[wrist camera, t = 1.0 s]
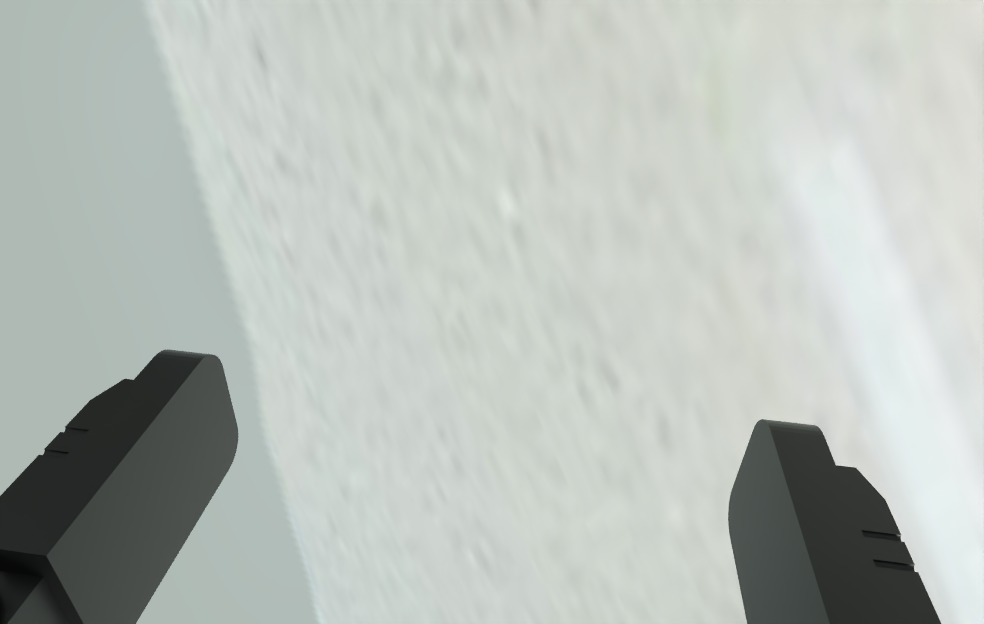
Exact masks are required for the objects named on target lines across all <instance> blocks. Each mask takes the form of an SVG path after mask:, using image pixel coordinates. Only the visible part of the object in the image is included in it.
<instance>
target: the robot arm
mask: <svg viewBox="0 0 984 624" xmlns="http://www.w3.org/2000/svg"><path fill="white" fill-rule="evenodd" d="M237 443H238V428H237V423H236V419H235V415H234V410H233V406H232V403H231V398H230V394H229V390H228V386H227V382H226V378H225V374H224V370H223V366H222V363H221V361H220V359H219V358H218V357H217V356H215V355H210V354H202V353H193V352H184V351H175V350H163V351H161V352H159V353H158V354H157V355H156V356H155V357H154V358H153V359H152V360H151V361H150V362H149V363H148V364H147V366H146V367H145V368H144V369H143V370H142V371H141V372H140V374H139V375H138V376H137V377H136V378H135V379H134V380H130V379H124V380H122V381H121V382H119V383H117V384H116V385H114V386H113V387H111V388H109V389H108V390H106V391H104V392H103V393H101V394H100V395H98V396H96V397H95V398H93V399H92V400H90V401H89V402H88V403H87V405H85V406H84V407H83V409H82V410H81V411H80V412H79V413H78V414H77V415H76V416H75V417H74V418H73V419H72V420H71V421H70V422H69V424H68V425H67V426H66V429H65V432H64V433H63V432H60V433H59V434H58V435H57V436H56V437H55V438H54V439H53V441H52V442H51V443H50V444H49V445H48V446H47V447H46V448H45V452H44V454H43V455H38V456H37V458H36V459H35V460H34V461H33V462H32V463H31V464H30V465H29V466H28V467H27V468H26V469H25V470H24V471H23V472H22V474H21V475H20V476H19V477H18V478H17V479H16V480H15V481H14V482H13V483H12V484H11V485H10V486H9V487H8V488H7V489H6V491H5V492H4V493H3V494H2V495H1V496H0V624H136V622H137V620H138V619H139V617H140V616H141V614H142V612H143V610H144V609H145V607H146V606H147V604H148V602H149V601H150V599H151V597H152V596H153V594H154V592H155V591H156V589H157V587H158V586H159V584H160V582H161V581H162V579H163V577H164V576H165V574H166V573H167V571H168V569H169V568H170V566H171V564H172V563H173V561H174V559H175V558H176V556H177V554H178V553H179V551H180V549H181V548H182V546H183V544H184V543H185V541H186V540H187V538H188V536H189V535H190V533H191V531H192V530H193V528H194V526H195V525H196V523H197V521H198V520H199V518H200V516H201V515H202V513H203V511H204V510H205V508H206V506H207V505H208V503H209V501H210V500H211V498H212V496H213V495H214V493H215V491H216V490H217V488H218V487H219V485H220V483H221V482H222V480H223V478H224V477H225V475H226V473H227V472H228V470H229V468H230V466H231V464H232V462H233V459H234V456H235V453H236V449H237ZM728 521H729V533H730V539H731V544H732V549H733V554H734V559H735V564H736V569H737V574H738V579H739V584H740V589H741V594H742V599H743V604H744V609H745V614H746V619H747V624H941V622H940V620H939V618H938V615H937V613H936V611H935V609H934V607H933V604H932V602H931V600H930V598H929V596H928V593H927V591H926V589H925V587H924V585H923V582H922V580H921V578H920V576H919V573H918V572H915V571H914V562H913V560H912V558H911V556H910V554H909V551H908V549H907V547H906V545H905V543H904V542H901V539H900V537H901V534H900V531H899V529H898V527H897V525H896V523H895V520H894V518H893V516H892V514H891V512H890V509H889V507H888V505H887V503H886V501H885V499H884V498H883V497H882V496H881V495H880V494H879V493H878V491H877V490H876V489H875V488H874V487H873V486H872V485H871V484H870V483H869V482H868V481H867V479H866V478H865V477H864V476H863V475H862V474H861V473H860V472H859V471H858V470H857V469H856V468H853V467H845V466H836V465H835V462H834V460H833V457H832V455H831V452H830V450H829V447H828V445H827V442H826V440H825V437H824V435H823V433H822V431H821V430H820V428H819V427H817V426H815V425H807V424H798V423H790V422H781V421H772V420H763V419H762V420H759V421H758V422H757V424H756V425H755V427H754V430H753V432H752V435H751V438H750V441H749V443H748V446H747V449H746V452H745V455H744V457H743V460H742V463H741V466H740V469H739V471H738V474H737V477H736V480H735V483H734V485H733V488H732V491H731V496H730V501H729V513H728Z"/></svg>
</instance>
